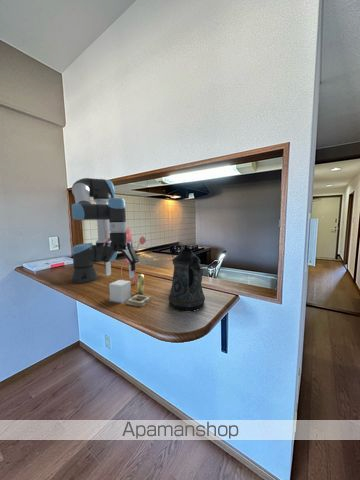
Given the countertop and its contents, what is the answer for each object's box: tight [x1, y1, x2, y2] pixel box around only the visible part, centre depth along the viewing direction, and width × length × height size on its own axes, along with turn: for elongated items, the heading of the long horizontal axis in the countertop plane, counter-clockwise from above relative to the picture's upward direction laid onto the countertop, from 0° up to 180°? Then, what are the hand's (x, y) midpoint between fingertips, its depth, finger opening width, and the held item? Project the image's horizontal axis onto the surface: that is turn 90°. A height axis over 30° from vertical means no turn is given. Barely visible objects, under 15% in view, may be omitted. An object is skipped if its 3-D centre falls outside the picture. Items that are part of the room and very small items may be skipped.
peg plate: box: [107, 295, 133, 305], centre depth 97 cm, size 9×9×5 cm
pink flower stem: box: [103, 227, 147, 283], centre depth 116 cm, size 15×26×35 cm, turn 141°
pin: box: [136, 273, 145, 295], centre depth 104 cm, size 4×4×10 cm
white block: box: [108, 279, 132, 302], centre depth 96 cm, size 7×7×8 cm
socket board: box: [126, 293, 152, 307], centre depth 93 cm, size 8×8×2 cm
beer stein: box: [167, 249, 206, 312], centre depth 89 cm, size 16×19×25 cm
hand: (120, 276), depth 95 cm, fingers open, 13 cm apart
